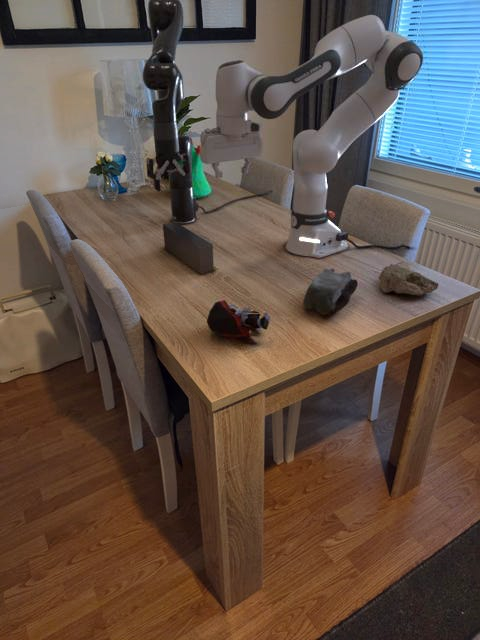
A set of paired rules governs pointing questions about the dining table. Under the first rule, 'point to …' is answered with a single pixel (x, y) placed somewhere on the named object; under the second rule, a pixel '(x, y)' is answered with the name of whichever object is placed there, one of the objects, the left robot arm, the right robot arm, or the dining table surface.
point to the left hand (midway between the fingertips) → (170, 188)
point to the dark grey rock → (330, 292)
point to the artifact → (405, 280)
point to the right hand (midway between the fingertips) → (232, 175)
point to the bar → (188, 247)
